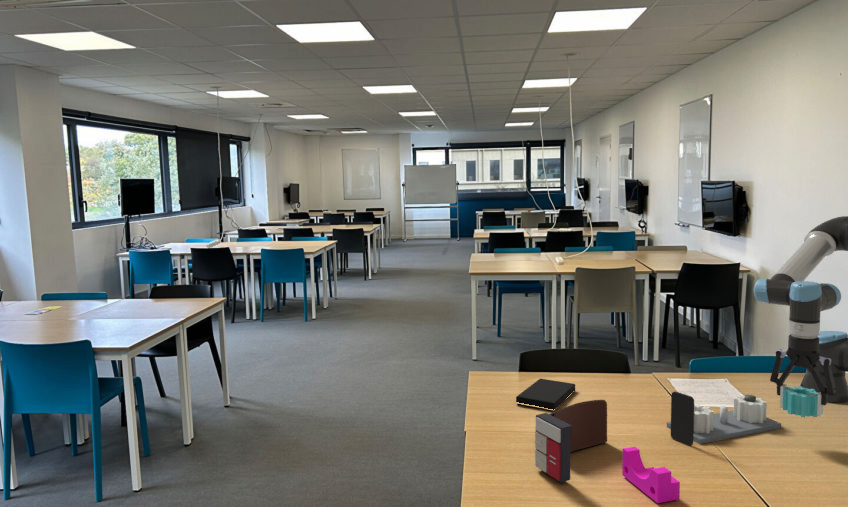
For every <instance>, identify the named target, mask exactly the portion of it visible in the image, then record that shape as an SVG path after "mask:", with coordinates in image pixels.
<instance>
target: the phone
mask: <svg viewBox="0 0 848 507" xmlns="http://www.w3.org/2000/svg"><path fill="white" fill-rule="evenodd" d="M670 397H671V399H670V400H671V402H670V404H671V405H670V422H671V429H670V437H671V439H672V440H674V441H677V442H679V443H682V444H684V445H686V446H689V447H690V446H693V445H694V441H693V435H694V405H695V399H694V397H693V396H691V395H688V394H685V393H682V392H678V391H672V392H671V396H670Z"/></svg>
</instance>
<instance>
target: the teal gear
mask: <svg viewBox="0 0 848 507" xmlns="http://www.w3.org/2000/svg"><path fill="white" fill-rule="evenodd" d="M817 400H818V393H816V391H815V390H814V389H807V388H802V387H800V385H799V386H794V387H793V386H787V388H786V389H783V408H782V410H783V411H786V412H787V414H789V415H796V416H799V417H800V418H806V417H813V418H817V417H818V416H817Z"/></svg>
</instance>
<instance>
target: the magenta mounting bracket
mask: <svg viewBox="0 0 848 507" xmlns="http://www.w3.org/2000/svg"><path fill="white" fill-rule="evenodd" d="M640 451H641V450H640V448H638V447H636V446H631V447H623V448H622V468H621V469H622V472H621V473H622V474H621V475H622V476H623V477H624V478H625V479H626V480H627V481H629V482H630V483H631V484H633V485H634V486H635V487H636V488H638V489H639V490H640V491H642V492H643V494H645V495H647V497H649V498H650V499H652V500H653V501H654V502H655V503H656V504H660V503H666V502H671V501H678V500H680V499H681V498H680V493H681V492H680V489H681V488H680V487H681V486H680V485H681V481H680V480H678V479H677V478H675V477H674V476H672V471H671V470H669V469H668V468H667V467H665V466H662V467H654V466H651V467H647V468H646V467H645V465H644V463H643V461H642V456H641V452H640Z"/></svg>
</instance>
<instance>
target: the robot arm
mask: <svg viewBox="0 0 848 507" xmlns="http://www.w3.org/2000/svg"><path fill="white" fill-rule="evenodd" d="M837 251H840V252H841V251H843V252H845V251H846V252H848V216H847V215H844V216H843V215H842V216H837V217H834V218H830V219H829V220H826V221H824V222H822V223H820V224H818V225H817V226H815V227H814V228H812V229H811V230H810V231H809V232H808V233H807V234H806V235H805V237H804V239H803V243H802V244H801V246H799V248H798V249H797V250H796V251H795V252H794V253H793V254H792V255H791V256H790V257H789V258H788V259H787V261H786V262H785V263H784V264H782V266H781V267H780V268H779V269H778V270H777V271H776V273H774V275H772V276H771V278H770V279H769V278H767V277H766V278H759V279H758V280H757V279H756V282H755V283H754V286H753V295H754V298H755V300H756V301H758V302H761V303H766V304H769V305H770V304H772V305H779V306H780V305H781V306H786V307H789V315H788V316H789V318H788V333H789V334H788V339H787V340H788V344H787V349H786V350H783V349H782V348H781V349H778V350H776V351H775V360H774V361H775V362H774V365H773V369H772V371H771V374H770V379H769V381H770V382H772V383H774V384H776V394H777V396H779V408H781V409H783V389H787V387H788V386H787V384H785V381H786V380H787V379H788V378H789V376H790V374H791V372H792V371H793V370H794V369H795V367H799V368H804V369H806V370H805V374H804V375H803V378H802V381H801V383H800V385H799V386H800V387H802V388H807V389H814V390H815V391H816V393H818V400H817V417H819V418H820V417H821V416H822V415H823V414H824V406H826V405H827V404H828V403H845V402H848V381H847V378H846V373H848V333H847V332H846V331H839V330H822V331H821V312H822V311H827V310H831V309H833V308H834V307H836V306H838V305H839V304H840V302H841V300H842V294H841V293H842V292H841V290H840V289H839V288H838V286H836V285H834V284H832V283H828V282H827V283H822V282H821V283H818V282H815V281H808V280H806V279H807V278H808V277H809V275H810V274H811V273H812V272H813V271H814V270H815V269H816V267H817V266H818V265H820V263H821V262H822V261H823V260H824V258H825V257H827V256H831V255H833V253H834V252H837ZM786 357H788V359H789V360H790V361H789V363H788V364H787V367H786V368H785V369H784V371H783V372H782V374H781V375H780V371H781V368H782V365H783V361H784V358H786ZM779 375H780V376H779Z"/></svg>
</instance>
